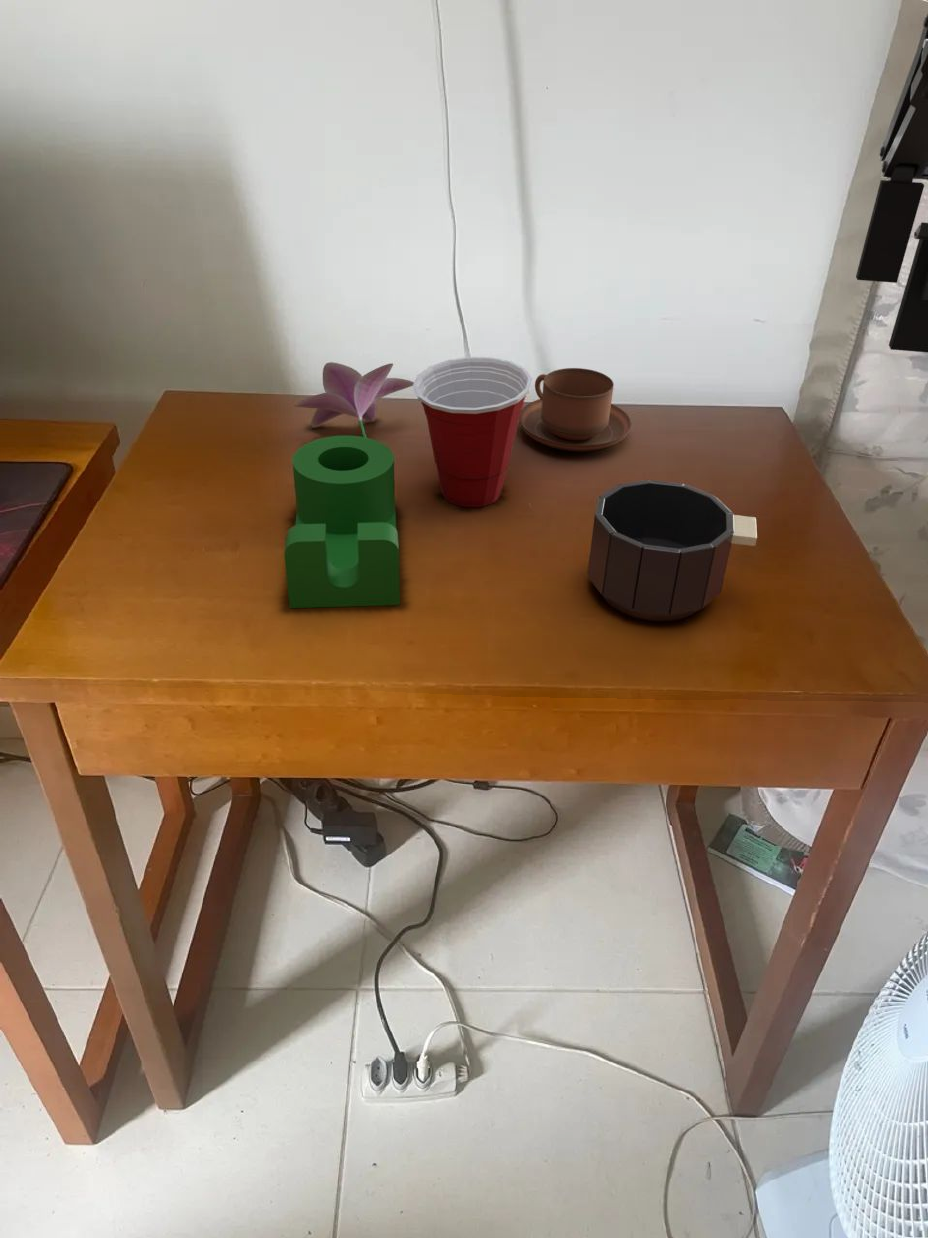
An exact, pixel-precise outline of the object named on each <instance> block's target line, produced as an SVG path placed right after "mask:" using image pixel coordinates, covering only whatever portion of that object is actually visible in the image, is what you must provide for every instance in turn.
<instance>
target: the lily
mask: <svg viewBox="0 0 928 1238" xmlns="http://www.w3.org/2000/svg"><path fill="white" fill-rule="evenodd" d="M393 366H394V363H392V362H391V363H387V364H383V365H381V366H379V367H377V368H375V369H372V370H370V371H369V372H367V373H365V374H363V375H362V374H361V373H360V372H359V371H358V370H356V369H354V368H353V367H351V366H348V365H345V364H342V363H338V362H332V361H331V362H330V361H329V362H326V363H325V364H324V366H323V368H322V386H323V390H324V392H322V393H319V394H314V395H313V396H309V397H307V398H304V399H303V400H301V401H298V402H296V403H295V404H294V405H293V406H294V408H308V409H316V410H315V411H314V414H313V416H312V419H311V423H310V424H311V428H316V427H319V426H321V425H323V424H324V423H327V422H328V421H330V420H333V419H334V418H337V417H338V416H339V417H340V416H341V415H347V416H351V417H354V418H357V419H358V422H359V425H360V430H361V433H362V437H366V438H367V434H366V431H365V427H364V423H363V420H365V421H369V422H375V420H376V417H377V413H378V412H377V410H378V404H377V401H378V400H380V399H382V398H384V397H387V396H388V395H390V394H393V393H396V392H399V391H403V390H405V389H409V388H411V387H413V384H414V382H415V381H411V380H409V379H404V378H397V377H388V376H389V374H390V372H391V370H392V368H393Z"/></svg>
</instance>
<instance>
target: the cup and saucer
mask: <svg viewBox="0 0 928 1238" xmlns="http://www.w3.org/2000/svg"><path fill="white" fill-rule="evenodd" d="M542 382H543V383H542ZM541 383H542V389H541ZM614 387H615V384H614V381H613V380H612V378H610V377H609V376H608V375H606V374H604V373H603V372H601V371H597V370H594V369H589V368H582V367H568V368H567V367H566V368H560V369H555V370H553V371H550V372H549V373H547V374H545V373H542V374H539V375H538V376H537V377H536V379H535V381H534V390H535V393H536V395H537V397H538V399H536V400H533V401H531V402H528V403H527V404H526V405H524V407H522V410H521V414H520V418H519V419H518V423H519V426H520V428H521V429H522V430H523V432H524V433H525V434H527V436H529V437H530V438H531V439H532V440H534V441H535V442H537V443H539V444H540V445H543V446H546V447H548V448H553V449H556V450H561V451H569V452H593V451H599V450H605V449H607V448H610V447H613V446H614V445H617V444H618V443H619V442H621V441H622V440H624V439H625V438H626V437H627V436H628V434H629V433H630V431H631V429H632V428H631V427H632V421H631V418H630V417H629V415H628V413H627V412H625V411H624V410H623V409H622V408H620V407H618V406H616V405H615V404H613V403H612V401H613V393H614Z"/></svg>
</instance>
